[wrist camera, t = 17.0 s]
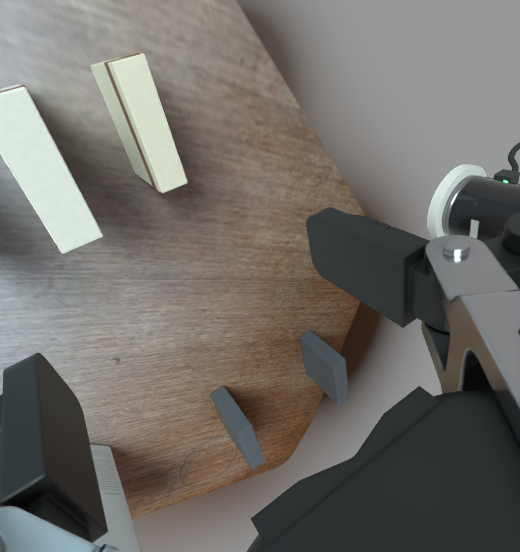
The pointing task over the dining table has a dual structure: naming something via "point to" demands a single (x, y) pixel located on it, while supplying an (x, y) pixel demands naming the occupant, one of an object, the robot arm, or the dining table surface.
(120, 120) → the cream books
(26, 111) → the white box
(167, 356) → the dining table surface
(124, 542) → the small box
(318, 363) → the grey parallel blocks
